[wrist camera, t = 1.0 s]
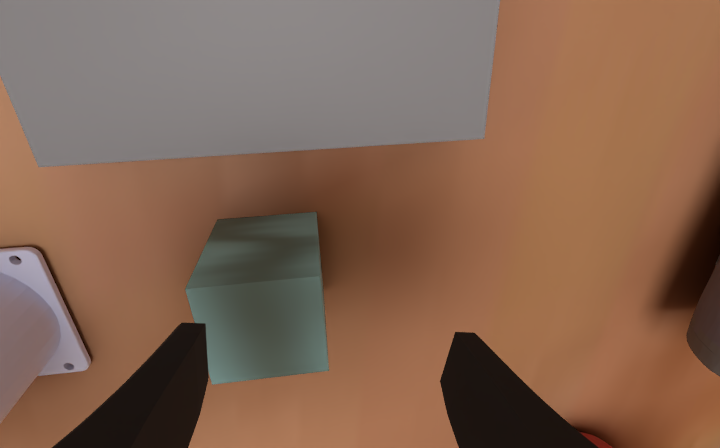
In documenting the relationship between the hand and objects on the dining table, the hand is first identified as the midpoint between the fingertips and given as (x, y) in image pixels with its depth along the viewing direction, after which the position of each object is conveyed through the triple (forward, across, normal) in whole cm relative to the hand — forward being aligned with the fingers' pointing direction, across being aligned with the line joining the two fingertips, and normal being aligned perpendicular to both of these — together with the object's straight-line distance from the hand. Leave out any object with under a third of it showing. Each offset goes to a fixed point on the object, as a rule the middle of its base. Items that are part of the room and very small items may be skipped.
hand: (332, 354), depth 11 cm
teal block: (+10, +3, +3) cm, 11 cm away
